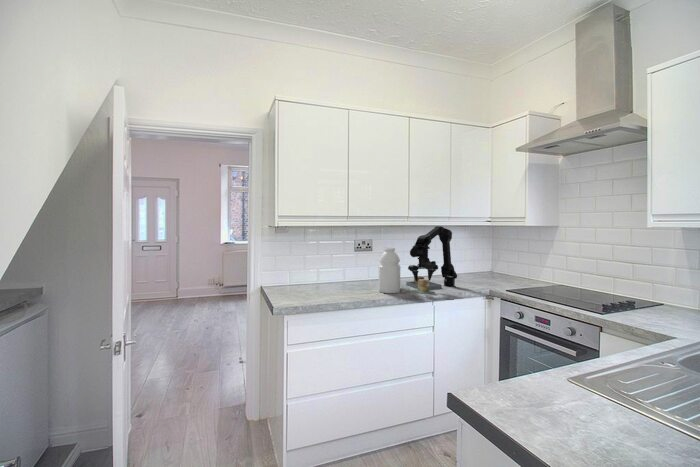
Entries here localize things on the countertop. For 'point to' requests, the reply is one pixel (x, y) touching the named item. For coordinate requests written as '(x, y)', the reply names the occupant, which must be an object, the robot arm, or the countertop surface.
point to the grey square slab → (431, 285)
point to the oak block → (423, 285)
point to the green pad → (423, 292)
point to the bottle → (389, 272)
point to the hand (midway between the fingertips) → (423, 281)
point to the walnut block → (418, 279)
